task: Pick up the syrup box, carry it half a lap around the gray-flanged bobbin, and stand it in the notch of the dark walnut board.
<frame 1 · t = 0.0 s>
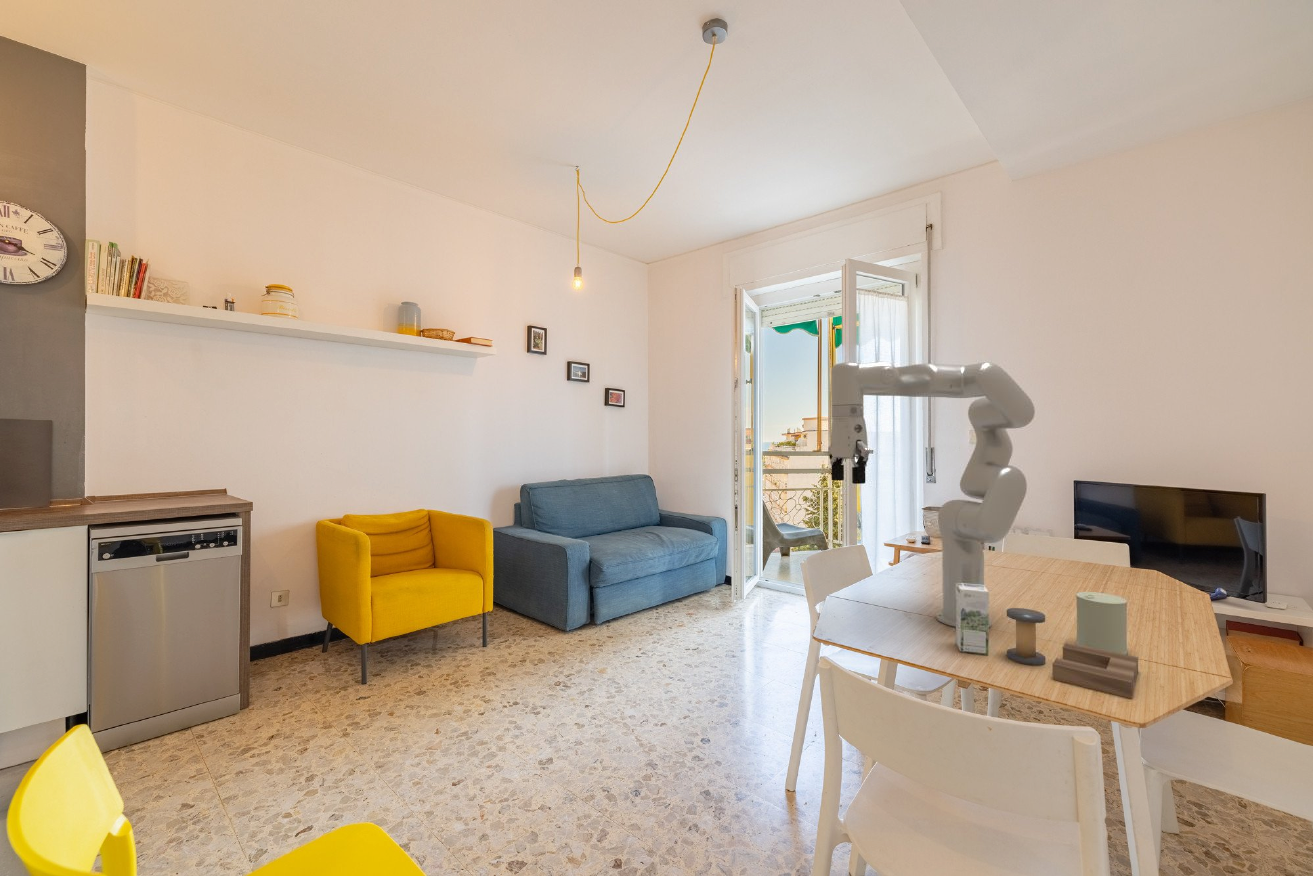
hand: (847, 481, 138), 37 cm above the table, tool pointing down, fingers open, 9 cm apart
gray-flanged bobbin: (1025, 659, 120), on the table
notched board: (1095, 675, 112), on the table
can: (1101, 648, 126), on the table
syrup box: (971, 650, 126), on the table
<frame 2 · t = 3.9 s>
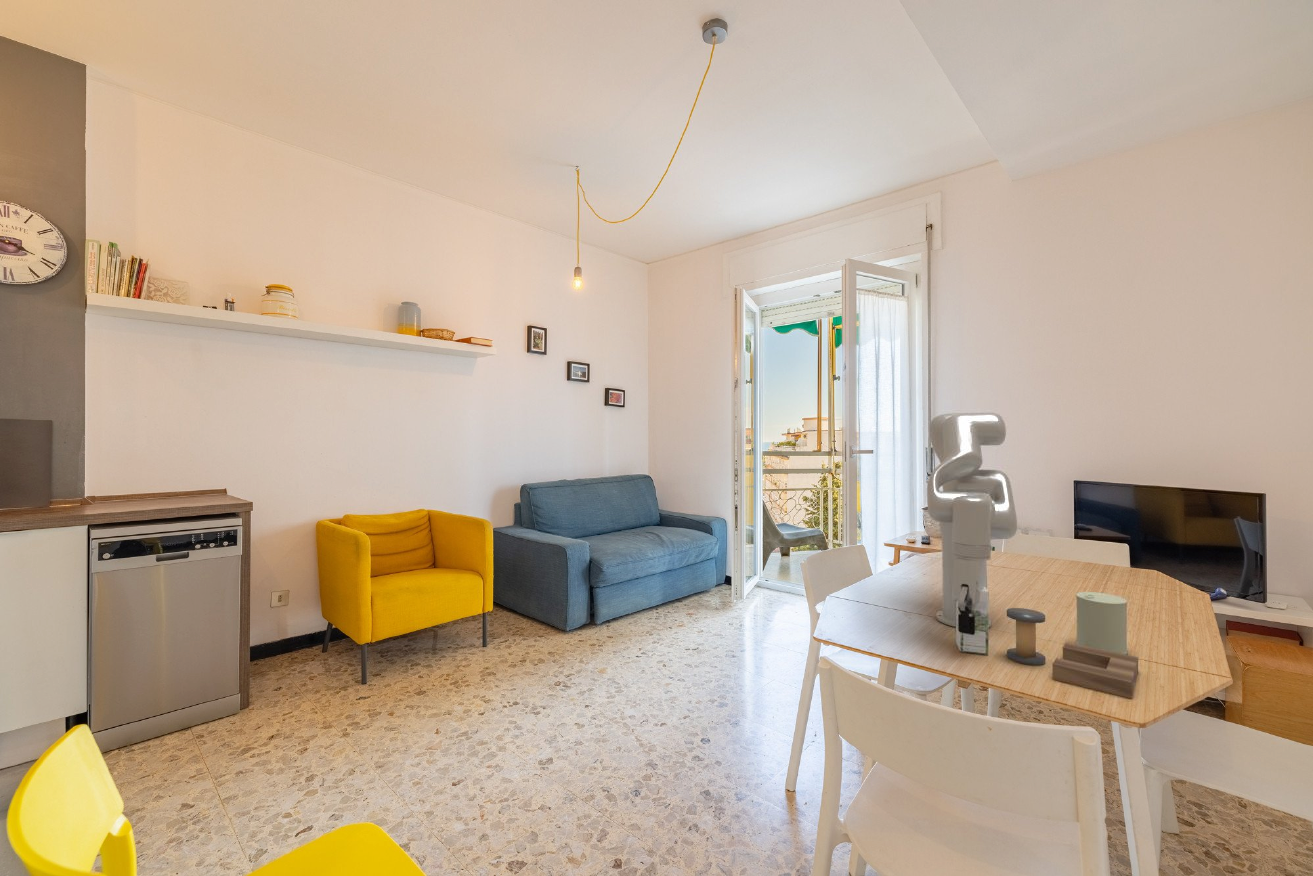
hand: (971, 628, 126), 5 cm above the table, tool pointing down, fingers closed on syrup box, 7 cm apart
syrup box: (971, 650, 126), on the table, touching gripper
everything else where it was.
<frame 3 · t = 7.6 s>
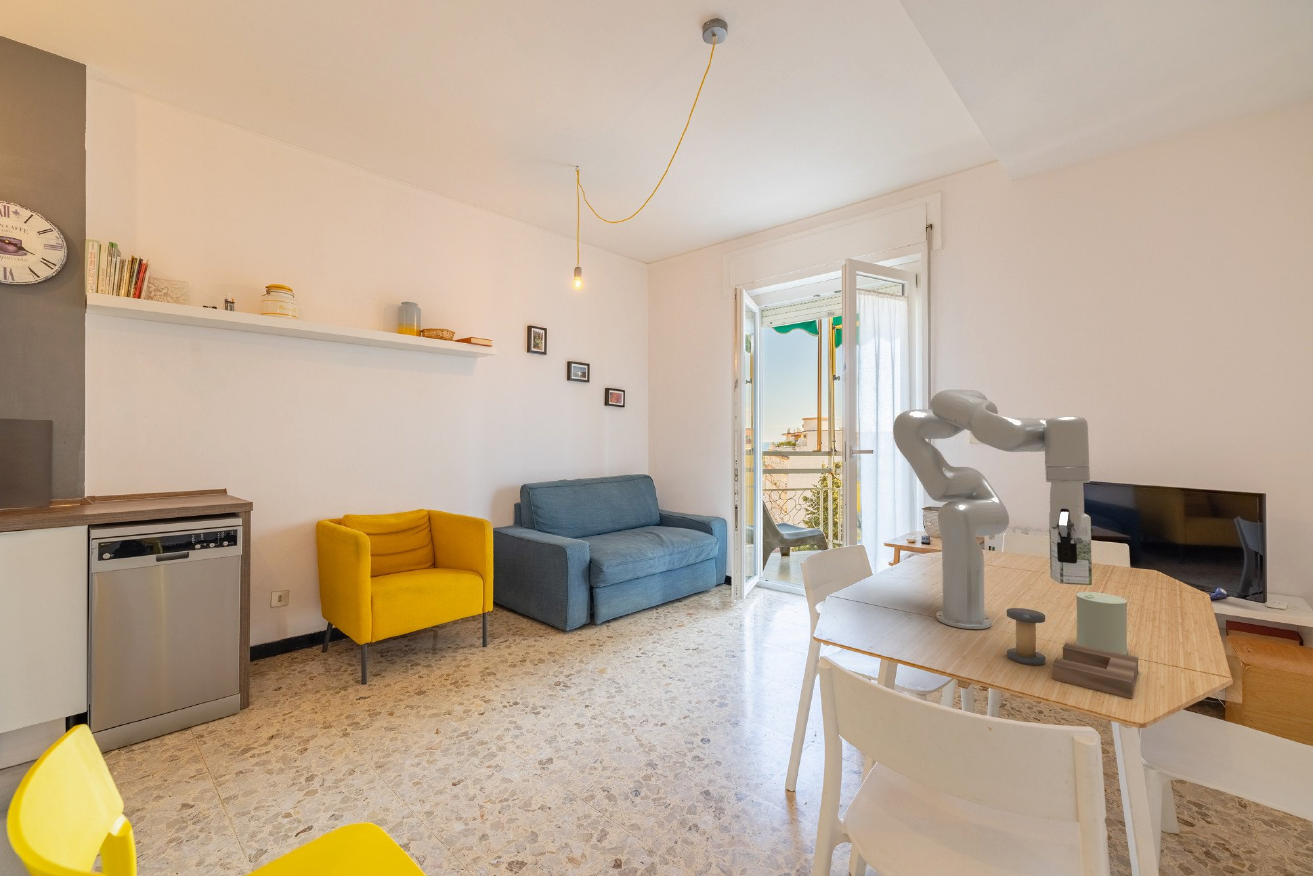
hand: (1070, 559, 117), 22 cm above the table, tool pointing down, fingers closed on syrup box, 7 cm apart
syrup box: (1071, 583, 117), point 17 cm above the table, touching gripper
everything else where it was.
when the fingers open (6 cm above the table, at t = 11.4 s): syrup box drops 1 cm, resting in notched board.
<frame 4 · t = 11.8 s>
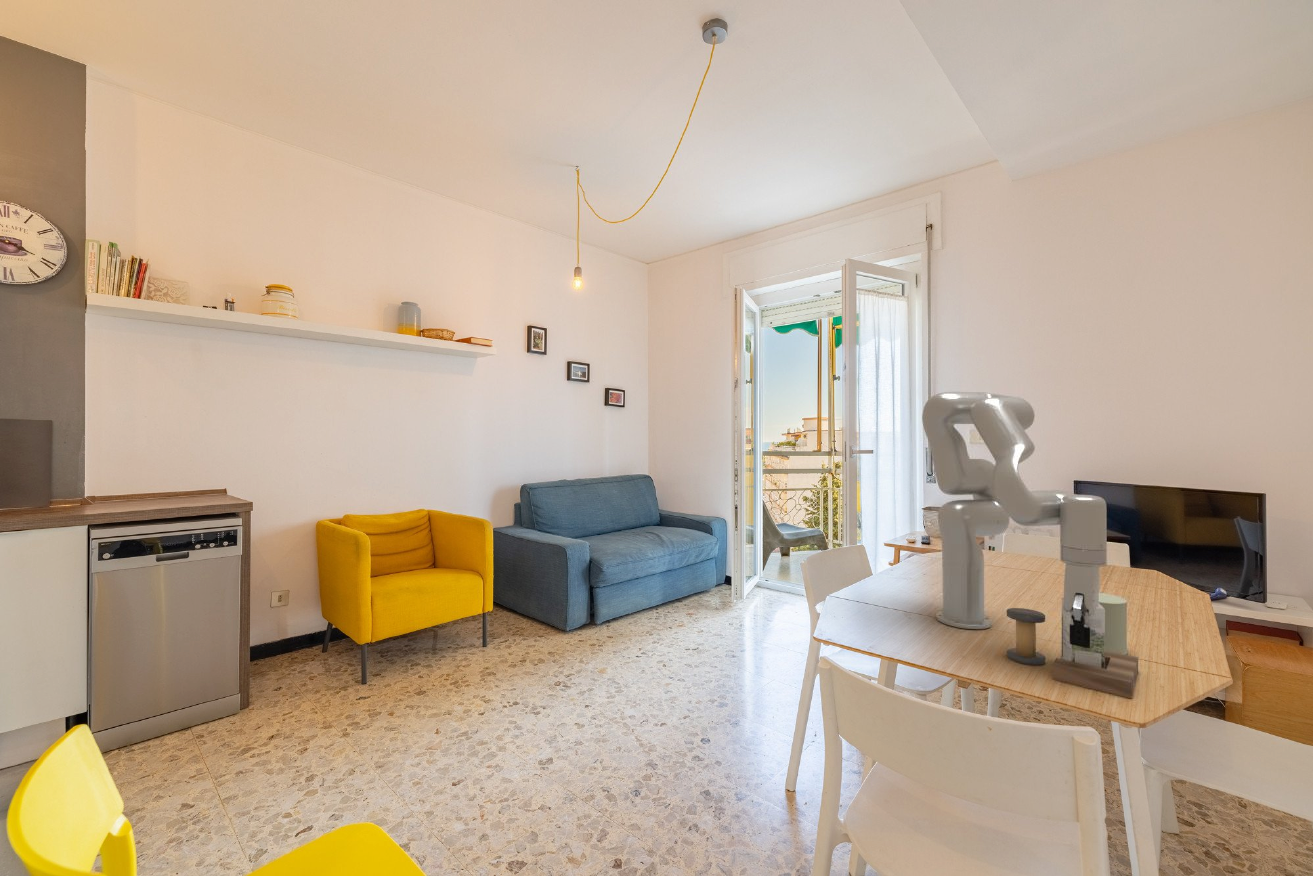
hand: (1083, 639, 113), 7 cm above the table, tool pointing down, fingers open, 9 cm apart
syrup box: (1082, 673, 114), resting in notched board
everything else where it was.
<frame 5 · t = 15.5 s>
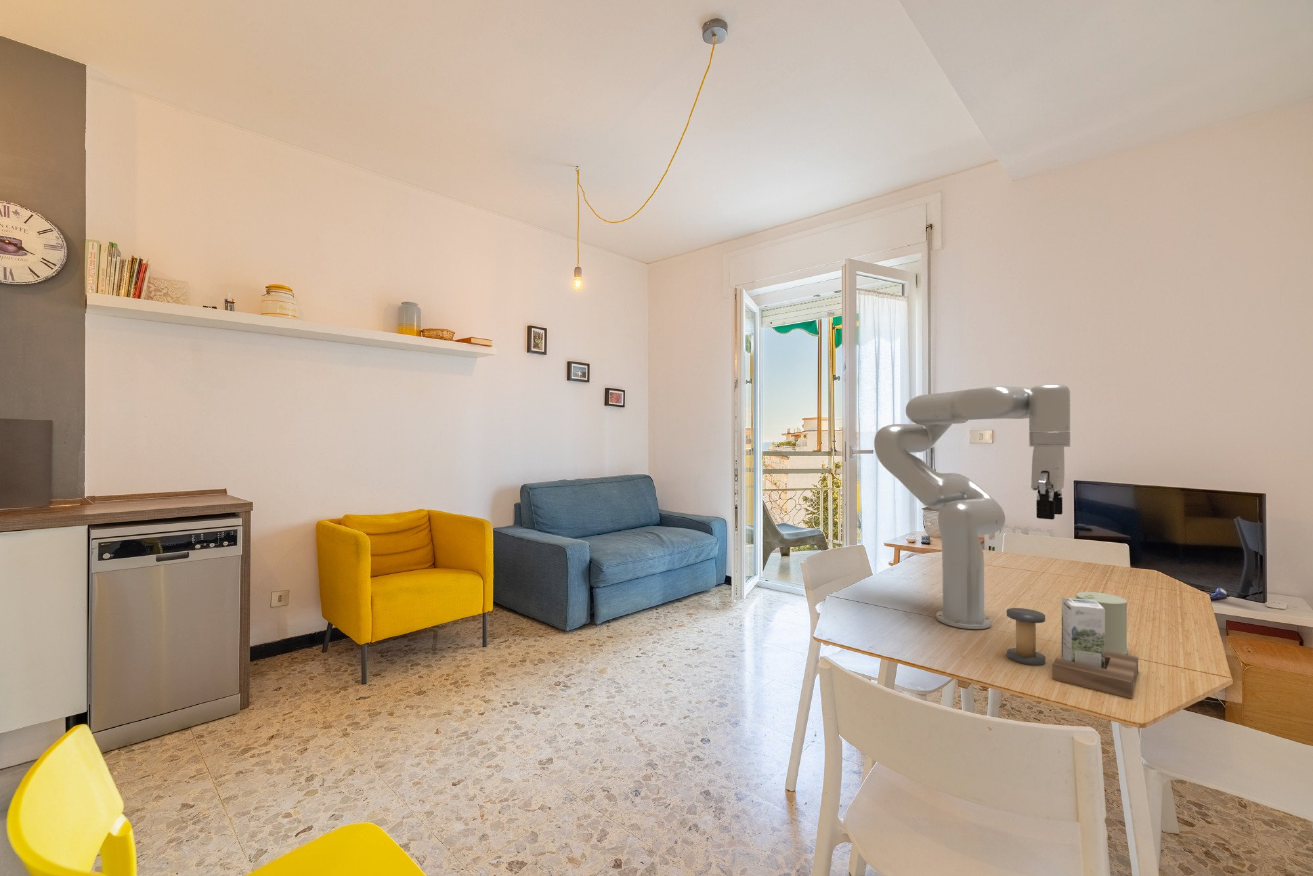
hand: (1049, 516, 125), 30 cm above the table, tool pointing down, fingers open, 9 cm apart
nothing on the table moved.
at the end: syrup box 0.1 cm from the target spot on the notched board, point 0.0 cm above the notched board's base; syrup box tilted 0°; the gripper is holding nothing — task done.
